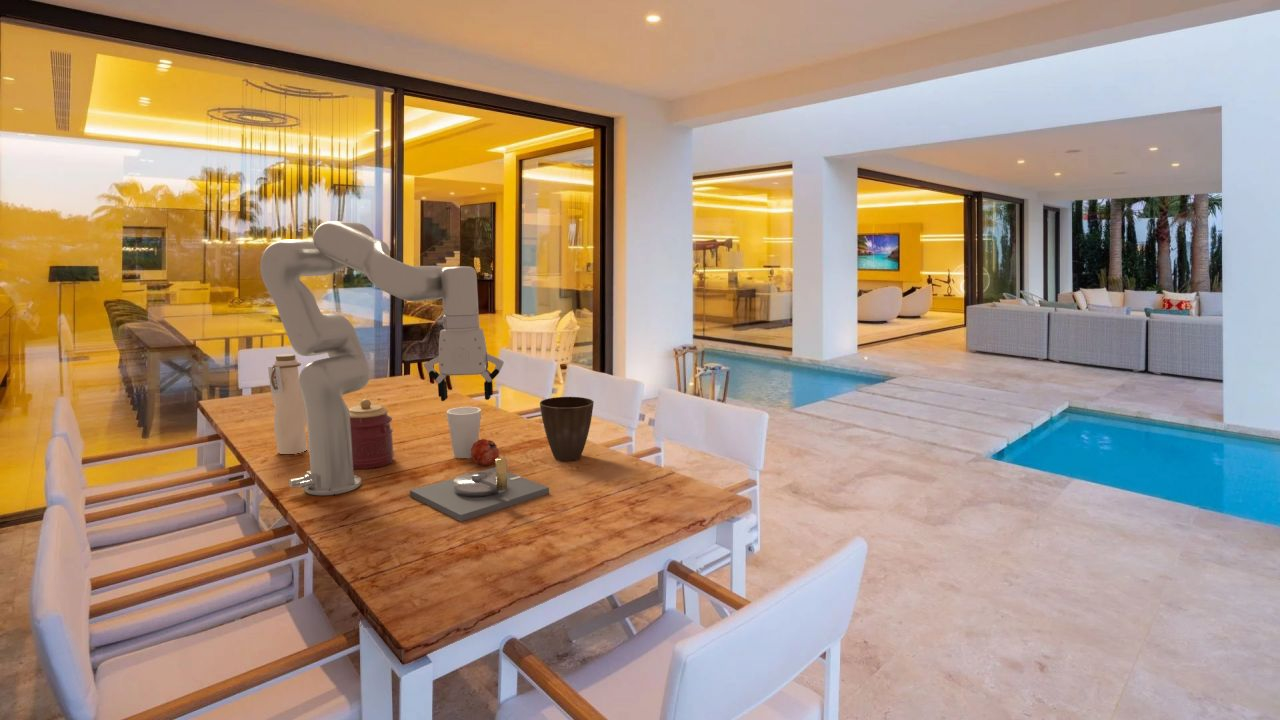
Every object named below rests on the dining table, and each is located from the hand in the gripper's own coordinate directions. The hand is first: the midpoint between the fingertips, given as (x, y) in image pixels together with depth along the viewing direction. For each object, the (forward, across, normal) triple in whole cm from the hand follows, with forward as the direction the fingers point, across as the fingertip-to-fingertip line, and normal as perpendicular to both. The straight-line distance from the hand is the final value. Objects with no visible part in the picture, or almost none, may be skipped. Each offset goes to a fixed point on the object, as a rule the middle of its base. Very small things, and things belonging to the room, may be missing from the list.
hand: (466, 399), depth 151 cm
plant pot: (+25, +19, +35) cm, 47 cm away
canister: (+24, -34, +32) cm, 52 cm away
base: (+24, +1, +6) cm, 25 cm away
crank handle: (+23, +2, +4) cm, 23 cm away
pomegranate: (+24, -3, +29) cm, 38 cm away
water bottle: (+23, -60, +42) cm, 77 cm away
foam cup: (+24, -10, +38) cm, 46 cm away
